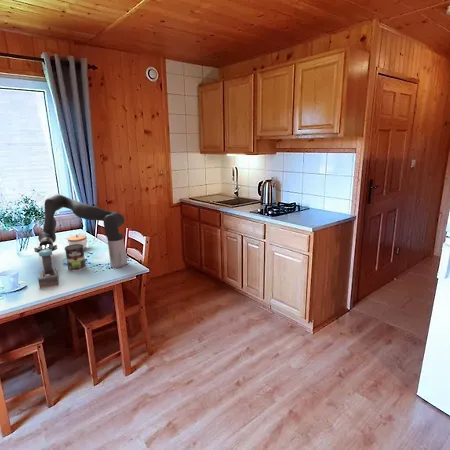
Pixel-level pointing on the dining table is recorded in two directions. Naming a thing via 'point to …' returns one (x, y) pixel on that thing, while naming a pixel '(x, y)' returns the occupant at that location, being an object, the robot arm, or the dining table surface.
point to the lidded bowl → (78, 240)
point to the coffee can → (75, 257)
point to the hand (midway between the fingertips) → (45, 252)
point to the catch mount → (48, 279)
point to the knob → (47, 261)
